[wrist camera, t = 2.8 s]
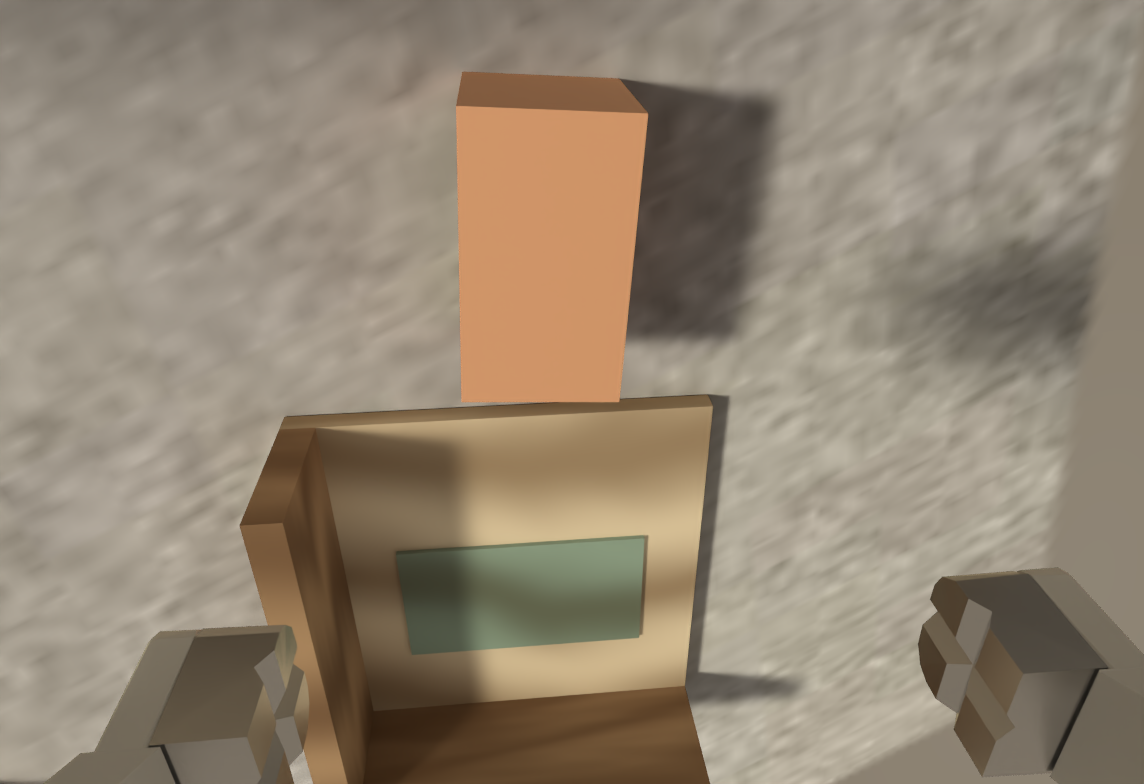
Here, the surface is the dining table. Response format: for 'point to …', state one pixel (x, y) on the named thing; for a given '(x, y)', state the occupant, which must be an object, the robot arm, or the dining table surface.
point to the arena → (489, 589)
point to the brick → (546, 234)
